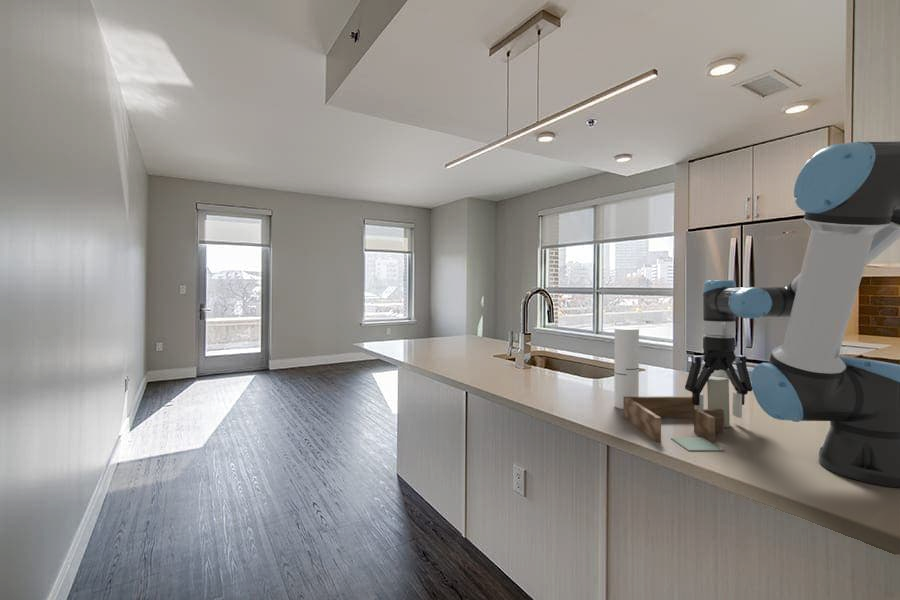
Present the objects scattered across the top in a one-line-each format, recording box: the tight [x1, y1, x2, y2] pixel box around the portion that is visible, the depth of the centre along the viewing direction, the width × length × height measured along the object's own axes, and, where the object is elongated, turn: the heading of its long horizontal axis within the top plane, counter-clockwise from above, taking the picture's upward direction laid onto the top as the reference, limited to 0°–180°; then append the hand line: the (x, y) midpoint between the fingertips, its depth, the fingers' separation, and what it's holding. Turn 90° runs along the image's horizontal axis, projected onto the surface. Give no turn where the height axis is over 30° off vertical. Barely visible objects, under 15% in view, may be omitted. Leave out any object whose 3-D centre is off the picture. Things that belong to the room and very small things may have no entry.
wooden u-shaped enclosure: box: [623, 395, 725, 443], centre depth 114 cm, size 20×20×6 cm
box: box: [706, 376, 731, 428], centre depth 117 cm, size 5×4×13 cm
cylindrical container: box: [613, 327, 640, 410], centre depth 135 cm, size 7×7×25 cm
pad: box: [670, 437, 724, 452], centre depth 102 cm, size 8×8×1 cm
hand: (718, 416), depth 117 cm, fingers open, 10 cm apart
